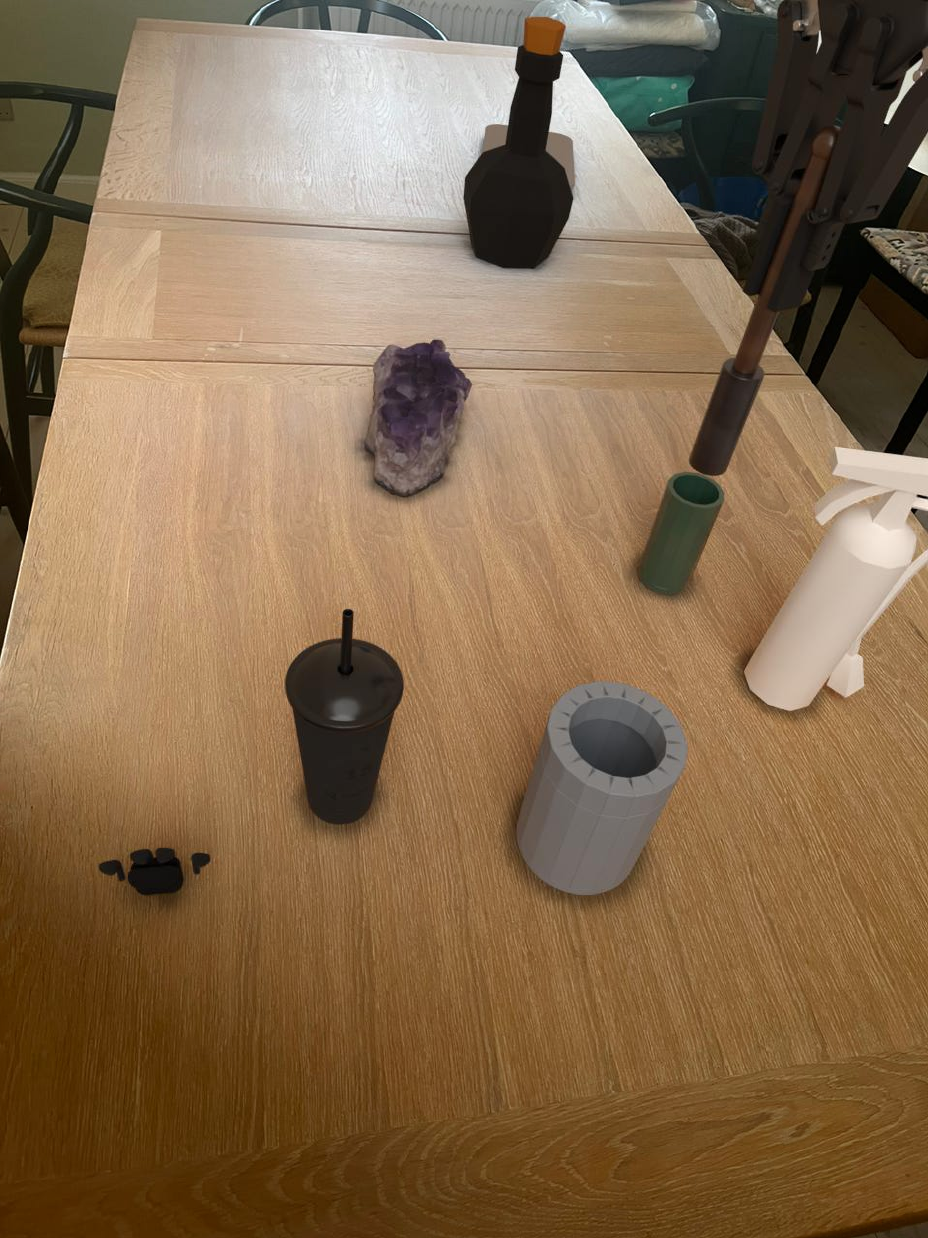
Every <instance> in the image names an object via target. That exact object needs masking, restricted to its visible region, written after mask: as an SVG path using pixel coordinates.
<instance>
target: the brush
mask: <svg viewBox="0 0 928 1238" xmlns="http://www.w3.org/2000/svg"><path fill="white" fill-rule="evenodd" d="M840 128H841V126H837V125H833V126H827V127H824V128H822V129H821V130H820V131H819V132H817V134H816V135H815V136H814V138H813V140H812V143H811V155H810V157H809V160H808V163H807V165H806V168H805V171H804V173H803V176H802V179H801V182H800V184H799V187H798V190H797V192H796V195H795V198H794V200H793V203H792V206H791V209H790V211H789V214H788V217H787V219H786V222H785V225H784V227H783V230H782V233H781V236H780V238H779V241H778V244H777V246H776V249H775V252H774V254H773V257H772V260H771V263H770V265H769V268H768V271H767V273H766V276H765V279H764V282H763V284H762V287H761V290H760V292H759V294H758V295H757V298H756V301H755V303H754V306H753V309H752V312H751V314H750V316H749V319H748V322H747V325H746V327H745V330H744V333H743V336H742V338H741V340H740V343H739V346H738V349H737V352H736V355H735V357H731V358H727V359H725V360H724V361H723V363H722V365H721V369H720V371H719V373H718V376H717V380H716V382H715V385H714V388H713V391H712V393H711V396H710V399H709V401H708V404H707V407H706V409H705V412H704V415H703V417H702V421H701V423H700V426H699V430H698V432H697V435H696V438H695V440H694V443H693V445H692V449H691V452H690V453H689V456H688V463H689V466H690V467H691V468H692V469H693V470H694V471H696V472H697V473H699V474H702V475H705V476H708V477H718V476H722V475H723V474H725V473H726V472H727V470H728V467H729V465H730V463H731V460H732V458H733V455H734V452H735V450H736V448H737V445H738V443H739V440H740V438H741V435H742V433H743V430H744V428H745V426H746V422H747V420H748V418H749V416H750V413H751V410H752V408H753V405H754V403H755V401H756V398H757V395H758V393H759V390H760V388H761V385H762V383H763V380H764V379H765V374H766V373H765V370H764V369H763V367H762V366H761V365H760V363H761V360H762V358H763V355H764V352H765V350H766V347H767V344H768V342H769V340H770V337H771V335H772V332H773V330H774V326H775V324H776V321H777V319H778V317H779V314H780V312H781V311H779V312H775V313H774V312H773V311H771V310H770V309H768V308H767V306H768V303H769V301H770V298H771V295H772V293H773V290H774V287H775V285H776V282H777V279H778V277H779V274H780V272H781V269H782V266H783V264H784V261H785V258H786V256H787V253H788V250H789V248H790V245H791V243H792V240H793V237H794V235H795V232H796V229H797V227H798V224H799V221H800V219H801V216H802V215H804V214H807V211H808V210H814V209H816V205H817V202H818V199H819V196H820V192H821V189H822V186H823V183H824V180H825V176H826V173H827V170H828V167H829V164H830V160H831V157H832V154H833V151H834V148H835V144H836V141H837V138H838V135H839V132H840Z"/></svg>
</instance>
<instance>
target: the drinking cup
mask: <svg viewBox="0 0 928 1238" xmlns="http://www.w3.org/2000/svg"><path fill="white" fill-rule="evenodd" d="M341 615H342V616H341V637H337V638H329V639H325V640H321V641H319V642H316V643H314V644H312V645H310V646H308V647H306V648H305V649H303V650H301V652H300V653H299V654H298V655H296V656H295V657H294V658H293V660H292V662H290V665H289V667H288V668H287V670H286V674H285V679H284V680H285V681H284V690H285V691H284V692H285V695H286V699H287V701H288V703H289V705H290V707H291V709H292V713H293V720H294V725H295V733H296V736H297V738H296V739H297V743H298V750H299V756H300V761H301V767H302V773H303V779H304V783H305V785H304V786H305V791H306V797H307V802H308V806H309V809H310V810H311V811H312V813H313V814H314V815H315V816H316V817H317V818H318V819H320V820H321V821H323V822H325V823H328V824H331V825H347V824H351V823H354V822H356V821H358V820H360V819H361V818H362V817H364V816H365V815H366V814H367V812H368V810H370V807H371V806H372V802H373V799H374V795H375V791H376V786H377V782H378V779H379V775H380V771H381V767H382V763H383V759H384V755H385V750H386V747H387V743H388V739H389V734H390V730H391V726H392V724H393V723H392V722H393V719H394V715H395V711H396V710H398V707H399V705H400V704H401V701H402V698H403V695H404V689H405V681H404V675H403V672H402V669H401V668H400V665H399V664H398V662H397V661H396V660H395V659H394V657H393V656H391V654H390V653H388V652H387V651H386V650H385V649H384V648H382V647H380V646H378V645H376V644H374V643H372V642H369V641H367V640H362V639H358V638H353V635H354V617H355V612H354V610H353V609H352V608H345V609H343V610H342V613H341Z"/></svg>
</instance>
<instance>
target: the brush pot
mask: <svg viewBox="0 0 928 1238" xmlns="http://www.w3.org/2000/svg"><path fill="white" fill-rule="evenodd" d="M724 502H725V491H724V489H723V487H722V486H721V485H720V484H719V483H718V482H717V481H715V480H714V479H712V478H711V476H708V475H704V474H702V473H699V472H693V471H692V472H691V471H682V472H676V473H675V474H673V475H672V476H671V477H669V478H668V480H667V483H666V485H665V488H664V491H663V494H662V496H661V500H660V502H659V506H658V508H657V511H656V514H655V517H654V519H653V522H652V525H651V528H650V531H649V534H648V537H647V538H646V541H645V545H644V548H643V550H642V554H641V557H640V560H639V563H638V566H637V571H636V573H637V574H636V575H637V577H638V579H639V582H641V584H642V585H643V586H645V588H646V589H648V590H650V591H652V592H654V593H657V594H660V595H664V596H676V595H679V594H681V593H683V592H685V591H687V589H688V588H689V585H690V583H691V581H692V579H693V577H694V574H695V573H696V570H697V566H698V564H699V562H700V560H701V557H702V555H703V552H704V550H705V547H706V545H707V543H708V540H709V539H710V536H711V533H712V531H713V528H714V525H715V523H716V521H717V518H718V516H719V514H720V511H721V509H722V507H723V504H724Z"/></svg>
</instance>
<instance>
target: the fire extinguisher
mask: <svg viewBox="0 0 928 1238" xmlns="http://www.w3.org/2000/svg"><path fill="white" fill-rule="evenodd" d="M828 460H829V466H830V472H831V475H833V476H837V477H842V478H845V479H849V480H847V481H845V482H843V483H841V484H838V485H836V486H834V487H832V488H829V490H828V491H827V492H826V493H825V494H823V495H822V497H820V498H819V499H818V501H816V502H815V503H814V505H813V507H814V518H815V519H816V520H817V522H818V523H819V524H820V526H821V527H822V526H824V525H826V524H827V523H828V521H830V520H831V519H832V518H833V517H834V519H833V521H832V523H831V524H830V526H829V527H828V529H827V531H826V532H825V534H824V536H823V538H822V539H821V541H820V542H819V544H818V546H817V547H816V549H815V551H814V552H813V554H812V556H811V557H810V559H809V561H808V562H807V564H806V566H805V568H804V569H803V571H802V573H801V574H800V576H799V577H798V579H797V581H796V583H795V584H794V586H793V587H792V589H791V591H790V593H789V594H788V596H787V598H786V599H785V601H784V603H783V604H782V606H781V607H780V609H779V611H778V612H777V614H776V616H775V618H774V619H773V621H772V622H771V624H770V626H769V628H768V629H767V631H766V632H765V634H764V635H763V637H762V639H761V641H760V642H759V644H758V645H757V647H756V649H755V651H754V652H753V654H752V656H751V658H750V659H749V661H748V662H747V664H746V667H745V669H744V670H743V673H744V677H745V679H746V682H747V685H748V687H749V690H750V691H751V692H752V693H753V694H755V695H756V697H758V698H759V699H760V700H761V701H763V702H764V703H765V704H766V705H768V706H771V707H774V708H777V709H781V710H785V711H788V712H792V711H796V710H799V709H802V708H803V709H804V708H807V707H809V706H810V704H811V703H812V701H814V699H815V697H816V696H817V695H818V694H819V692H820V690H822V688H823V686H824V685H825V684H826V686H827V687H829V688H830V689H832V690H833V691H834V692H836V693H838V694H839V695H840V696H842V697H843V698H845V699H847V698H848V697H850V696H851V695H853V694H854V693H856V692H857V691H859V690H861V689H862V688H864V687H865V682H864V681H865V677H864V676H865V675H864V657H863V656H861V655H860V654H859V651H860V646H861V643H862V639H863V637H864V636H865V635H866V634H867V633H868V631H869V630H870V629H871V628H872V627H873V625H874V624H875V623H876V622H877V620H878V619H879V618H880V617H881V615H883V613H884V612H885V611H886V609H887V608H889V606H890V605H891V603H892V602H893V601H894V600H895V599H896V598H897V597H898V595H899V594H900V593H901V591H902V590H903V589H904V588H905V587H906V585H907V584H908V583H910V581H911V580H912V579H913V577H914V576H915V575H917V573H918V572H920V571H921V570H922V569H923V568H924V567H925V566H927V564H928V548H927V549H926V550H925V551H923V552H922V553H921V554H920V555H919V556H917V558H915V560H914V561H913V562H912V560H913V557H914V556H915V552H916V549H917V537H918V536H917V534H915V533H916V532H915V531H914V529H913V528H912V526H911V525H910V523H909V521H908V520H907V519H908V517H909V515H910V513H911V510H912V509H917V510H920V511H925V512H928V499H927V498H922V497H919V496H923V497H928V458H925V457H919V456H910V455H903V454H896V453H895V454H894V453H888V452H887V453H886V452H880V451H872V450H871V451H870V450H863V449H855V448H849V447H840V446H834V448H833V450H832V451H831V453H830V454H829V456H828ZM878 495H881V496H880V497H879V498H878V500H877V501H876V502H875V503H870V502H865V503H863V502H862V501H863V500H865V499H867V498H872V497H874V496H875V497H876V496H878ZM918 495H919V496H918ZM859 502H862V503H859ZM856 503H859V504H856Z"/></svg>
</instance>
